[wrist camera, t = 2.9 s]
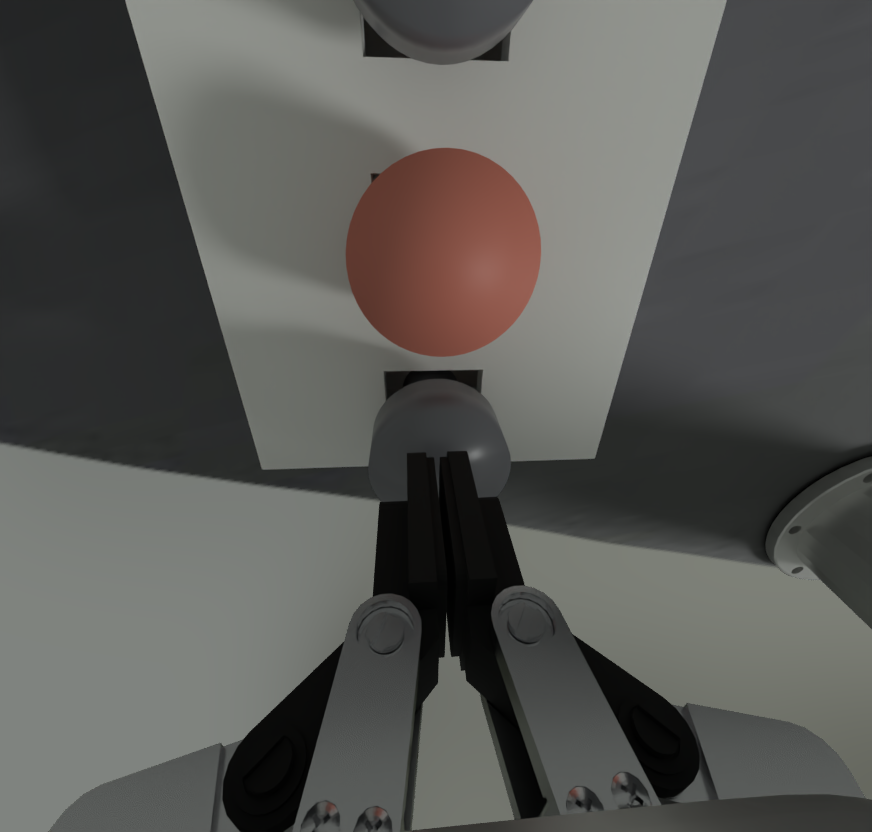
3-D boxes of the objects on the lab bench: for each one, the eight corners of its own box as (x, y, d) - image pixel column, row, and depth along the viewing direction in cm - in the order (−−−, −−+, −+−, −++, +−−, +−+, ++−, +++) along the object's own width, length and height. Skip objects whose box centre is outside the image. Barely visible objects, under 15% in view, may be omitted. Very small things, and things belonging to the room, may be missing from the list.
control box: (635, -59, 13) (790, -220, 8) (550, 393, 22) (594, 458, 16) (199, -83, 12) (43, -281, 7) (297, 398, 21) (262, 469, 16)
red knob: (499, 161, 12) (556, 149, 8) (488, 299, 15) (527, 355, 10) (361, 159, 12) (333, 145, 7) (372, 300, 14) (356, 358, 10)
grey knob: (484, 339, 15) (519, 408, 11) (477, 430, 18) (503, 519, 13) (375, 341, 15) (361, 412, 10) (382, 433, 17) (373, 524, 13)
